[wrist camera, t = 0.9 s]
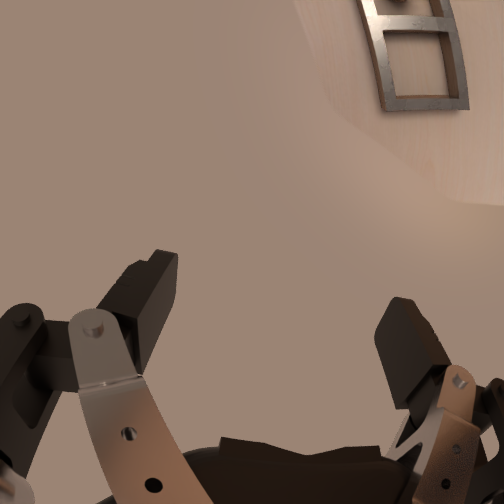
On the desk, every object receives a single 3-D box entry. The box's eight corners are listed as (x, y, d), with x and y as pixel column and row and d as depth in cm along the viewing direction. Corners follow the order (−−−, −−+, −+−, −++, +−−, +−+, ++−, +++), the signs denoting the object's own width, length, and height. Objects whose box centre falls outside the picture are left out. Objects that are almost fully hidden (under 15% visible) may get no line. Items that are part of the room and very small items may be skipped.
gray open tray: (340, -44, 17) (342, -64, 12) (422, -42, 14) (439, -58, 9) (381, 107, 27) (393, 116, 22) (458, 105, 24) (482, 115, 19)
